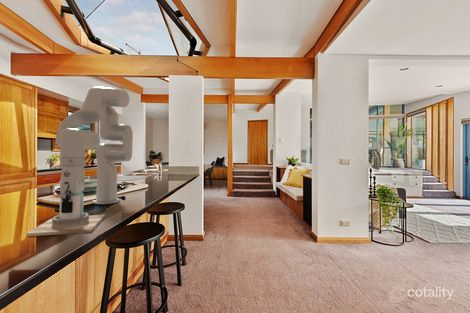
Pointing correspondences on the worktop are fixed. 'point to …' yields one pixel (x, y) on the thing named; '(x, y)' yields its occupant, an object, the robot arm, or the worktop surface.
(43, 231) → the base
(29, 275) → the worktop surface
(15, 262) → the worktop surface
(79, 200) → the can
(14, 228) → the worktop surface
